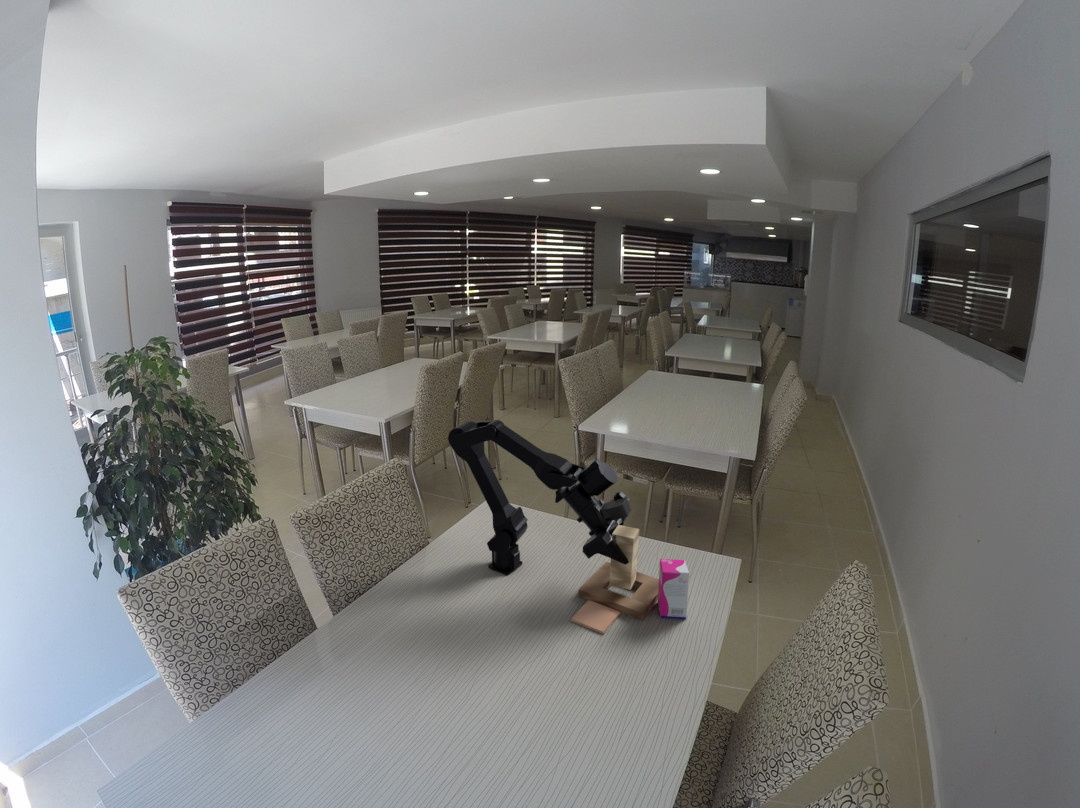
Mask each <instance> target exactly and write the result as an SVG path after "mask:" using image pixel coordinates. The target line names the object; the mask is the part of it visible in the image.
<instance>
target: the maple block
mask: <svg viewBox="0 0 1080 808" xmlns="http://www.w3.org/2000/svg"><path fill="white" fill-rule="evenodd" d="M614 535H616V543H617V545H618V546H619V548H620V549H621V551H622V552H623V553H624V555H625V556H626V558H627V559H628V561H629V563H628V564H626V565H625V564H622V563H620V562H618V561H616V560H614V559H611V558H610V562H609V563H610V582H609V585H612V586H613V587H617V588H621V589H626V590H628V591H631V590H632V588H633V587H632V586H633V584H634V582H635V580H636V572H637V569H638V553H639V539H640V528H636V527H632V526H631V527H630V526H626V525H625V526H622V525H618V526H617V527H616V529H615V530H614V532H613V533H612V537H613V536H614ZM612 586H611V587H612Z"/></svg>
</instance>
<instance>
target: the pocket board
mask: <svg viewBox="0 0 1080 808" xmlns="http://www.w3.org/2000/svg"><path fill="white" fill-rule="evenodd" d="M610 563H611V562H608V561H605V562H604V563H603V564H602V565H601V566H600V567H599V568H598V569H597V570H596V571H595V572H594V573H593V574H592V575H591V576H590V577H589V578H588V579H586V581H585V582H584V583H583V584H582V585H581V586H580V587H579V588H578V589H577V590H578V595H577V596H578V598H581V599H584V600H586V601H588V600H590V601H593V602H596V603H598V604H601V605H604V606H606V607H609V608H611V609H614V610H617V611H619V612H620V614H622V615H626V616H628V617H631V618H633V619H636V620H639V621H640V622H643V620H644V619H645V618H646V617H647V615H648V614H649V613H650V611H651V610H652V609H653V607H654V606H655V604H656V603H658V587H659V578H656V577H653V576H650V575H648V574H644V573H642V572H638V571H636V580H635V582H634V584H633V586H632V588H634V589H635V588H636V589H637V590H636V591H635V592H634V593H633V594H632V596H631V597H629V596H626V595H624V594H620V593H618V592H615V591H612V590H610V588H611V587H612V585H609V582H610Z"/></svg>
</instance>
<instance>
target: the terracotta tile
mask: <svg viewBox="0 0 1080 808" xmlns="http://www.w3.org/2000/svg"><path fill="white" fill-rule="evenodd" d="M620 615H621V613H620V612H619V611H617V610H614V609H611V608H609V607H606V606H604V605H601V604H598V603H596V602H593V601H590V600H586V602H585V603H584V604H583V605H582V606H581V607H580V609H578V610H577V611H576V612H575V614H574V615H573V616H572V617H571V618H570V621H571V622H573V623H575V624H577V625H580V626H582V627H584V628H587V629H590V630H592V631H595V632H597V633H599V634H602V635H604V634H605V633H606V632H607V631H608V630H609V628H610V627H611V626H612V625H613V624H614V623H615V621H616V620H617V619H618V618H619V616H620Z"/></svg>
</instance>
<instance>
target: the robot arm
mask: <svg viewBox="0 0 1080 808" xmlns="http://www.w3.org/2000/svg"><path fill="white" fill-rule="evenodd" d="M447 441H448V444H449V445H450V447H451V449H452V450H453V452H454V453H455V455H456V456H458V457H459V458H460V459H462V460H463V461H464V462H466V464H467V465H468V468H469V470H470V471H471V473H472V476H473V478H474V479H475V482H476V484H477V485H478V487H479V490H480V492H481V494H482V496H483V498H484V499H485V501H486V504H487V506H488V507H489V510H490V512H491V514H492V529H493V531H494V535H493V536H492V537H491V538H490V539H489V540H488V541H487V542H486V545H487V547H488V550H489V552H491V563H489V564H488V567H487V568H488V569H491V570H493V571H496V572H498V573H501V574H503V575H506V576H509V575H511V574H512V573H513V572H514V571H516V569H518V568H519V567H520V566H522V565H523V561H522V560H521V552H520V549H519V544H517V543H518V541H519V540H520V539H521V538H522V537H523V536H524V534H525V533H526V532H527V529H528V520H529V519H528V518H527V517H526V515H525V514H524V512H523V508H522V507H521V506H518V507H517V508H516V507H515V506H513V505H512V504H511V503H510V501H509V499H508V498H507V496H506V494H505V492H504V490H503V488H502V486H501V484H500V482H499V480H498V478H497V476H496V474H495V472H494V468H492V465H491V463H490V461H489V459H488V457H487V455H486V453H485V442H489V441H491V442H493V443H494V444H496V445H497V446H499V447H501V448H502V449H503V450H505V451H506V452H508V453H509V454H511V455H512V456H514V457H515V458H516V459H518V460H520V461H521V462H522V463H523V464H525V465H526V466H528V467H529V468H530V469H531V470H532V471H533V473H534V474H535V476H536V477H537V479H538V480H539V482H541V483H542V484H544V485H545V487H546V488H548V489H550V490H552V491H555V498H554V499H555V500H554V502H555V503H556V504H558V503H559V502H560V501H562V500H564V501H565V502H566V503H567V505H568V506H569V507H570V508H571V509H572V510H573V512H574V513H575V514H576V515H577V516H578V517H577V519H576V521H577V522H578V523H579V524H580V523H581V522H583V523H584V524H585V526H586V527H587V528H588V529H589V532H588V535H589V536H590V537H589V538H587V540H586V541H585V542H584V544H583V545H582V553H583V554H584V555H585V557H586V558H587V559H591V558H592V557H594V556H595V555H597V554H598V555H602V556H604V557H607V558H609V559H610V560H611V559H614V560H616V561H618V562H620V563H622V564H625V565H626V564H628V563H629V561H628V559H627V558H626V556H625V555H624V553H623V552H622V551H621V549H620V548H619V546H618V545H617V543H616V535H614V536H613V537H612V533H613V532H614V530H615V529H616V527H617V526H618V525H622V526H626V520H627V518H628V516H629V515H630V512H632V508H631V505H630V501H631V499H630V498H629V497H628V496H627V495H626V494H624V492H622V491H618V492H615V493H614V495H613V499H611V500H609V501H607V502H606V501H605V500H604V499H603V498H599V499H597V498H596V497H598V496H600V495H601V494H603V493H604V492H605V491H607V490H608V489H610V487H612V486H614V485H616V483H617V482H618V474H617V473H616V471H615V470H614V469H613V467H612V466H611V465H609V464H607V463H606V462H604V461H601V460H600V459H599V458H595V459H594V460H593V461H592V462H591V463H590V465H588V466H587V467H586V466H581V465H578V464H575V463H572V462H570V460H568V459H567V458H564V457H562V456H560V455H557V454H556V453H552V452H547V451H544V450H542V449H541V448H540V447H537V446H536V445H535V444H533V443H532V442H530V441H529V440H527V439H526V438H524V437H523V436H522V435H520V434H519V433H517V432H515V430H513V429H511V428H510V427H508V426H507V425H505V423H504V422H503V421H502V420H499V419H494V420H491V421H479V422H474V421H471V420H468V421H464V422H462V423H461V424H459V425H458V426H456V427H454V428H453V429H451V430H450V431H449V433H448V437H447Z"/></svg>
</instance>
